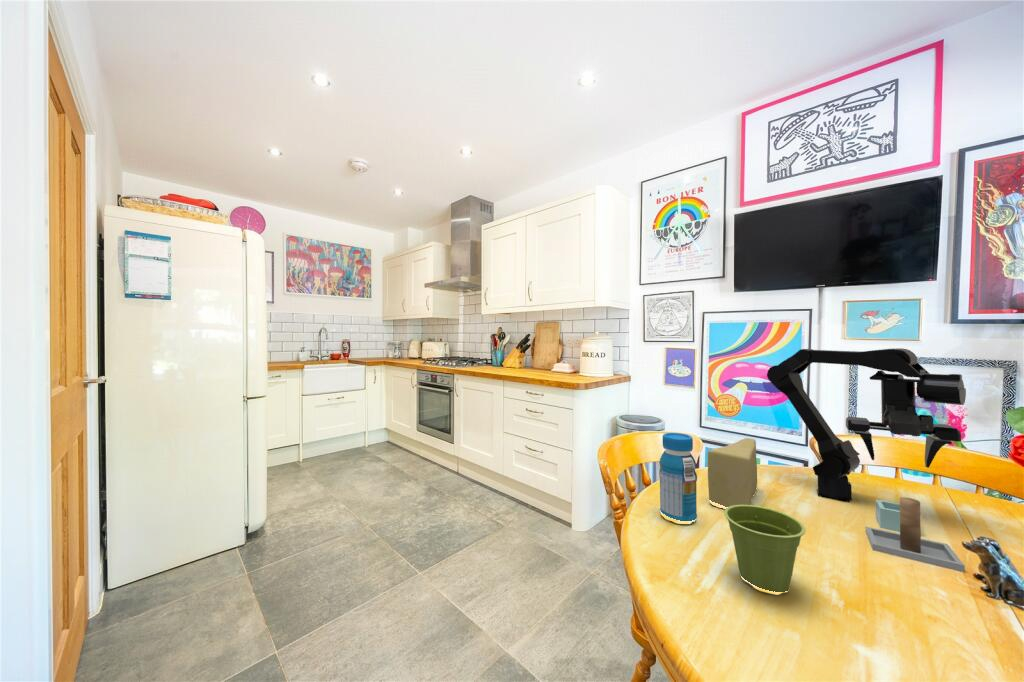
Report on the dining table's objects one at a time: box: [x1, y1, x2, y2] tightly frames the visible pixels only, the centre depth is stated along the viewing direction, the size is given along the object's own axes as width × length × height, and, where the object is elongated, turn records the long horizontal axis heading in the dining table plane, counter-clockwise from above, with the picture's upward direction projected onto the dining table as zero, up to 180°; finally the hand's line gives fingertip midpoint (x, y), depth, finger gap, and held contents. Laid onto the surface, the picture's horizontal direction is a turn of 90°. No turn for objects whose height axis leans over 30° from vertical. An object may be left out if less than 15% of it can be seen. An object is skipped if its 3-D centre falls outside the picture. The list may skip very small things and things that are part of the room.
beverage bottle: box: [658, 432, 698, 521], centre depth 89 cm, size 8×8×20 cm
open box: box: [875, 498, 900, 533], centre depth 83 cm, size 6×6×5 cm
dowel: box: [899, 496, 922, 553], centre depth 74 cm, size 3×3×10 cm
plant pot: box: [723, 504, 806, 592], centre depth 64 cm, size 12×12×11 cm
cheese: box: [707, 437, 758, 507], centre depth 100 cm, size 22×10×15 cm, turn 132°
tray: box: [865, 526, 966, 573], centre depth 73 cm, size 12×9×2 cm
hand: (899, 463), depth 89 cm, fingers open, 9 cm apart
